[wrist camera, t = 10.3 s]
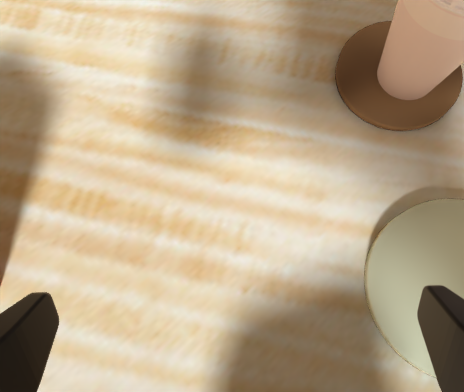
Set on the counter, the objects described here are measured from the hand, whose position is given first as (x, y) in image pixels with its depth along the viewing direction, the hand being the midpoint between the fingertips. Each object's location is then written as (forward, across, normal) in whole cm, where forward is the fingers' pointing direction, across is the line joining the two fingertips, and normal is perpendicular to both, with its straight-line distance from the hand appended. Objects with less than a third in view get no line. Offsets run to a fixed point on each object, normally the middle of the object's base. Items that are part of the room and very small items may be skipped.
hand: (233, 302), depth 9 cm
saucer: (+10, -12, +9) cm, 18 cm away
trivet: (+20, -10, -1) cm, 23 cm away
